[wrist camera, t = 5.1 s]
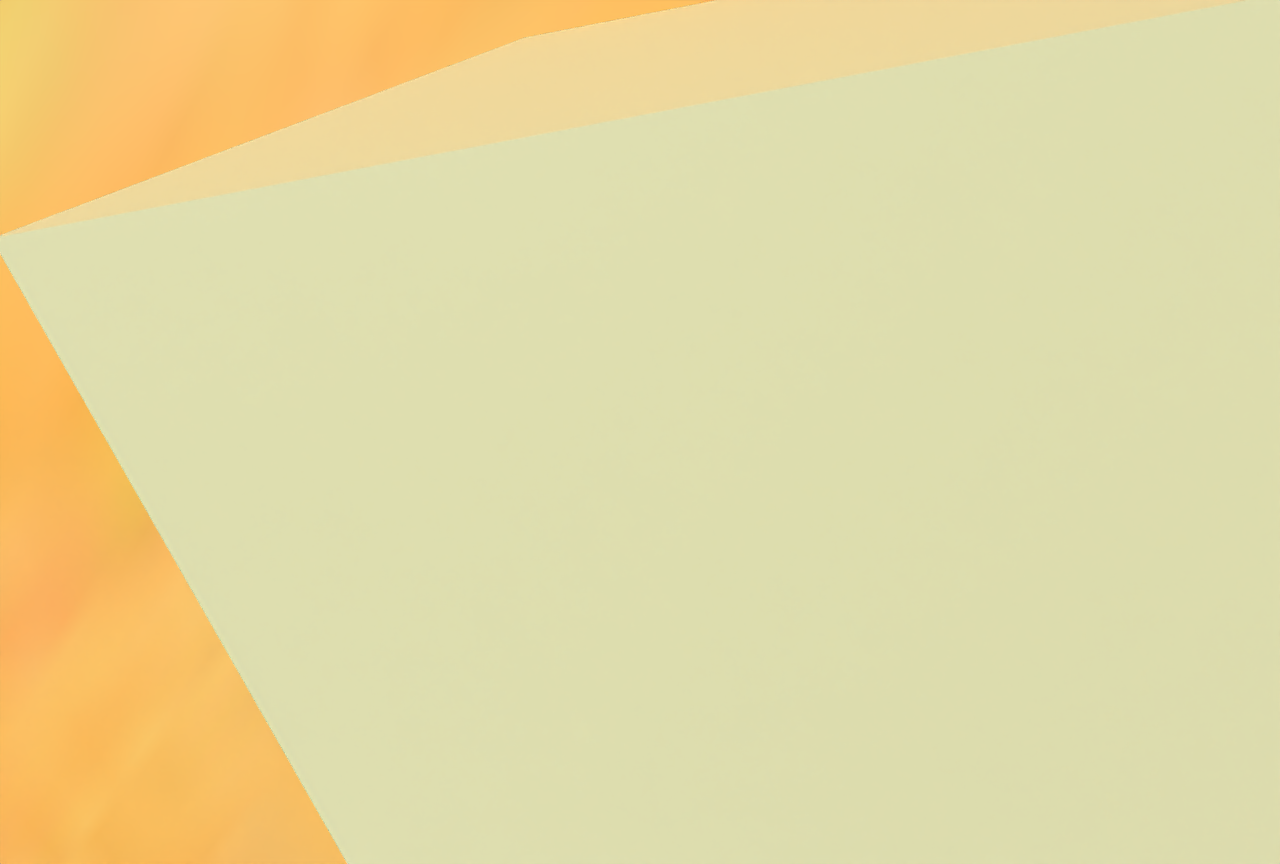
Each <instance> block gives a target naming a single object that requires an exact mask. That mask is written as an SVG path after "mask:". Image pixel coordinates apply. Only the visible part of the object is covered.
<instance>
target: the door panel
mask: <svg viewBox="0 0 1280 864" xmlns="http://www.w3.org/2000/svg"><path fill="white" fill-rule="evenodd" d="M0 254H1V256H2V258H3V259H4V261H5V263H6V265H7V267H8V268H9V270H10V272H11V274H12V275H13V277H14V279H15V281H16V282H17V284H18V286H19V288H20V289H21V291H22V293H23V295H24V296H25V298H26V300H27V302H28V303H29V305H30V307H31V309H32V310H33V312H34V314H35V316H36V317H37V319H38V321H39V323H40V325H41V326H42V328H43V330H44V332H45V333H46V335H47V337H48V339H49V340H50V342H51V344H52V346H53V347H54V349H55V351H56V353H57V354H58V356H59V358H60V360H61V361H62V363H63V365H64V367H65V368H66V370H67V372H68V374H69V375H70V377H71V379H72V381H73V382H74V384H75V386H76V388H77V390H78V391H79V393H80V395H81V397H82V398H83V400H84V402H85V404H86V405H87V407H88V409H89V411H90V412H91V414H92V416H93V418H94V419H95V421H96V423H97V425H98V426H99V428H100V430H101V432H102V433H103V435H104V437H105V439H106V440H107V442H108V444H109V446H110V448H111V449H112V451H113V453H114V455H115V456H116V458H117V460H118V462H119V463H120V465H121V467H122V469H123V470H124V472H125V474H126V476H127V477H128V479H129V481H130V483H131V484H132V486H133V488H134V490H135V491H136V493H137V495H138V497H139V498H140V500H141V502H142V504H143V506H144V507H145V509H146V511H147V513H148V514H149V516H150V518H151V520H152V521H153V523H154V525H155V527H156V528H157V530H158V532H159V534H160V535H161V537H162V539H163V541H164V542H165V544H166V546H167V548H168V549H169V551H170V553H171V555H172V556H173V558H174V560H175V562H176V564H177V565H178V567H179V569H180V571H181V572H182V574H183V576H184V578H185V579H186V581H187V583H188V585H189V586H190V588H191V590H192V592H193V593H194V595H195V597H196V599H197V600H198V602H199V604H200V606H201V607H202V609H203V611H204V613H205V614H206V616H207V618H208V620H209V622H210V623H211V625H212V627H213V629H214V630H215V632H216V634H217V636H218V637H219V639H220V641H221V643H222V644H223V646H224V648H225V650H226V651H227V653H228V655H229V657H230V658H231V660H232V662H233V664H234V665H235V667H236V669H237V671H238V672H239V674H240V676H241V678H242V680H243V681H244V683H245V685H246V687H247V688H248V690H249V692H250V694H251V695H252V697H253V699H254V701H255V702H256V704H257V706H258V708H259V709H260V711H261V713H262V715H263V716H264V718H265V720H266V722H267V723H268V725H269V727H270V729H271V730H272V732H273V734H274V736H275V738H276V739H277V741H278V743H279V745H280V746H281V748H282V750H283V752H284V753H285V755H286V757H287V759H288V760H289V762H290V764H291V766H292V767H293V769H294V771H295V773H296V774H297V776H298V778H299V780H300V781H301V783H302V785H303V787H304V788H305V790H306V792H307V794H308V795H309V797H310V799H311V801H312V803H313V804H314V806H315V808H316V810H317V811H318V813H319V815H320V817H321V818H322V820H323V822H324V824H325V825H326V827H327V829H328V831H329V832H330V834H331V836H332V838H333V839H334V841H335V843H336V845H337V846H338V848H339V850H340V852H341V853H342V855H343V857H344V859H345V861H346V862H347V864H1280V0H715V1H710V2H705V3H699V4H694V5H689V6H684V7H679V8H674V9H669V10H663V11H658V12H653V13H648V14H643V15H638V16H633V17H628V18H622V19H617V20H612V21H607V22H602V23H597V24H592V25H586V26H581V27H576V28H571V29H566V30H561V31H556V32H551V33H545V34H540V35H535V36H530V37H525V38H522V39H520V40H517V41H514V42H512V43H509V44H506V45H504V46H501V47H498V48H496V49H493V50H490V51H488V52H485V53H482V54H480V55H477V56H474V57H472V58H469V59H466V60H464V61H461V62H458V63H456V64H453V65H451V66H448V67H445V68H443V69H440V70H437V71H435V72H432V73H429V74H427V75H424V76H421V77H419V78H416V79H413V80H411V81H408V82H405V83H403V84H400V85H397V86H395V87H392V88H389V89H387V90H384V91H382V92H379V93H376V94H374V95H371V96H368V97H366V98H363V99H360V100H358V101H355V102H352V103H350V104H347V105H344V106H342V107H339V108H336V109H334V110H331V111H328V112H326V113H323V114H320V115H318V116H315V117H313V118H310V119H307V120H305V121H302V122H299V123H297V124H294V125H291V126H289V127H286V128H283V129H281V130H278V131H275V132H273V133H270V134H267V135H265V136H262V137H259V138H257V139H254V140H251V141H249V142H246V143H244V144H241V145H238V146H236V147H233V148H230V149H228V150H225V151H222V152H220V153H217V154H214V155H212V156H209V157H206V158H204V159H201V160H198V161H196V162H193V163H190V164H188V165H185V166H182V167H180V168H177V169H175V170H172V171H169V172H167V173H164V174H161V175H159V176H156V177H153V178H151V179H148V180H145V181H143V182H140V183H137V184H135V185H132V186H129V187H127V188H124V189H121V190H119V191H116V192H113V193H111V194H108V195H105V196H103V197H100V198H98V199H95V200H92V201H90V202H87V203H84V204H82V205H79V206H76V207H74V208H71V209H68V210H66V211H63V212H60V213H58V214H55V215H52V216H50V217H47V218H44V219H42V220H39V221H36V222H34V223H31V224H29V225H26V226H23V227H21V228H18V229H15V230H13V231H10V232H7V233H5V234H2V235H0Z"/></svg>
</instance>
